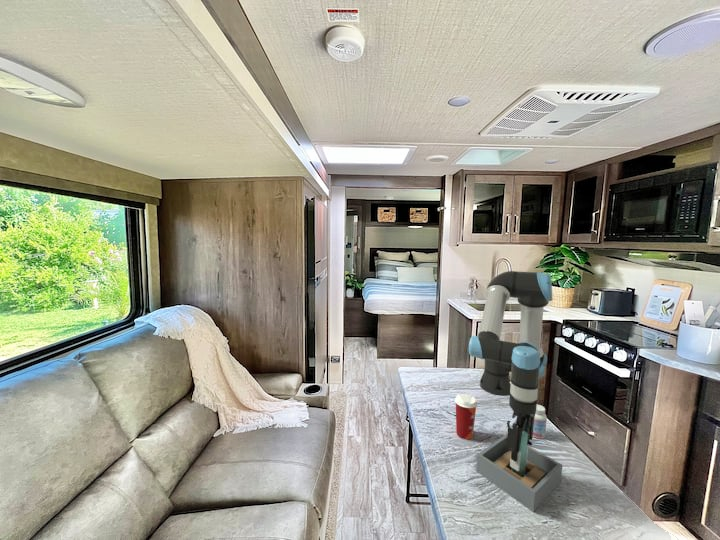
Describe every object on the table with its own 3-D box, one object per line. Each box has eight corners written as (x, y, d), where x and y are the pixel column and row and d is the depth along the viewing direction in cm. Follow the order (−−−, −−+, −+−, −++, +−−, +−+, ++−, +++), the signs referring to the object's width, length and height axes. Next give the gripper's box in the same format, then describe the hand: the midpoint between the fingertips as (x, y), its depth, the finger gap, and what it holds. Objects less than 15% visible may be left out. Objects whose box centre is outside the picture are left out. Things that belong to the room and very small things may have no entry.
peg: (515, 465, 99) (517, 426, 98) (527, 473, 96) (530, 433, 94) (508, 471, 97) (511, 431, 95) (521, 479, 94) (523, 438, 92)
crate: (505, 449, 109) (506, 433, 108) (560, 482, 94) (562, 464, 94) (476, 471, 99) (477, 454, 98) (533, 512, 84) (534, 492, 83)
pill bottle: (525, 434, 117) (527, 407, 116) (529, 427, 122) (531, 401, 120) (543, 441, 113) (545, 413, 112) (546, 433, 117) (549, 407, 116)
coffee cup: (477, 443, 112) (479, 405, 110) (454, 440, 114) (456, 403, 112) (473, 429, 120) (475, 393, 119) (452, 426, 122) (453, 391, 120)
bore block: (509, 457, 105) (509, 449, 104) (546, 480, 95) (546, 471, 95) (490, 472, 98) (490, 464, 98) (527, 499, 88) (528, 490, 88)
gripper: (524, 384, 101) (520, 447, 104) (496, 399, 92) (492, 469, 94) (548, 393, 95) (543, 460, 98) (521, 411, 85) (516, 485, 88)
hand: (518, 464), depth 96 cm, fingers closed on peg, 4 cm apart
